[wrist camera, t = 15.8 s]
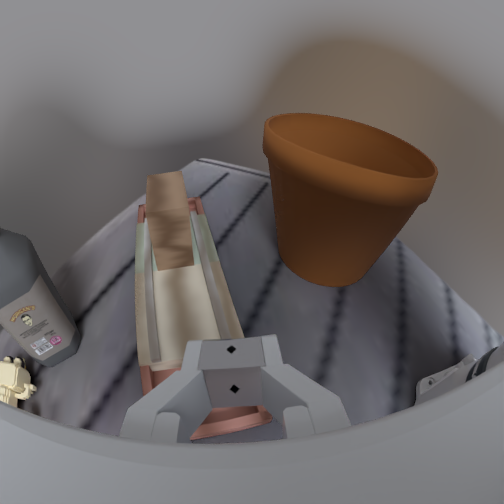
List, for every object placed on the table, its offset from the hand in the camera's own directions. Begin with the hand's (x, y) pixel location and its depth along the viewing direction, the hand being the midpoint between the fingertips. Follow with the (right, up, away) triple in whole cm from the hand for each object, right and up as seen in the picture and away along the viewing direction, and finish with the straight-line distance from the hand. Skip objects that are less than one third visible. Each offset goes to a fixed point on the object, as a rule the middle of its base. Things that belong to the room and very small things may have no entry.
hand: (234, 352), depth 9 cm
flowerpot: (+15, +3, +44) cm, 46 cm away
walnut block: (-13, +5, +38) cm, 40 cm away
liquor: (-30, -10, +24) cm, 39 cm away
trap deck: (-11, -3, +34) cm, 36 cm away
